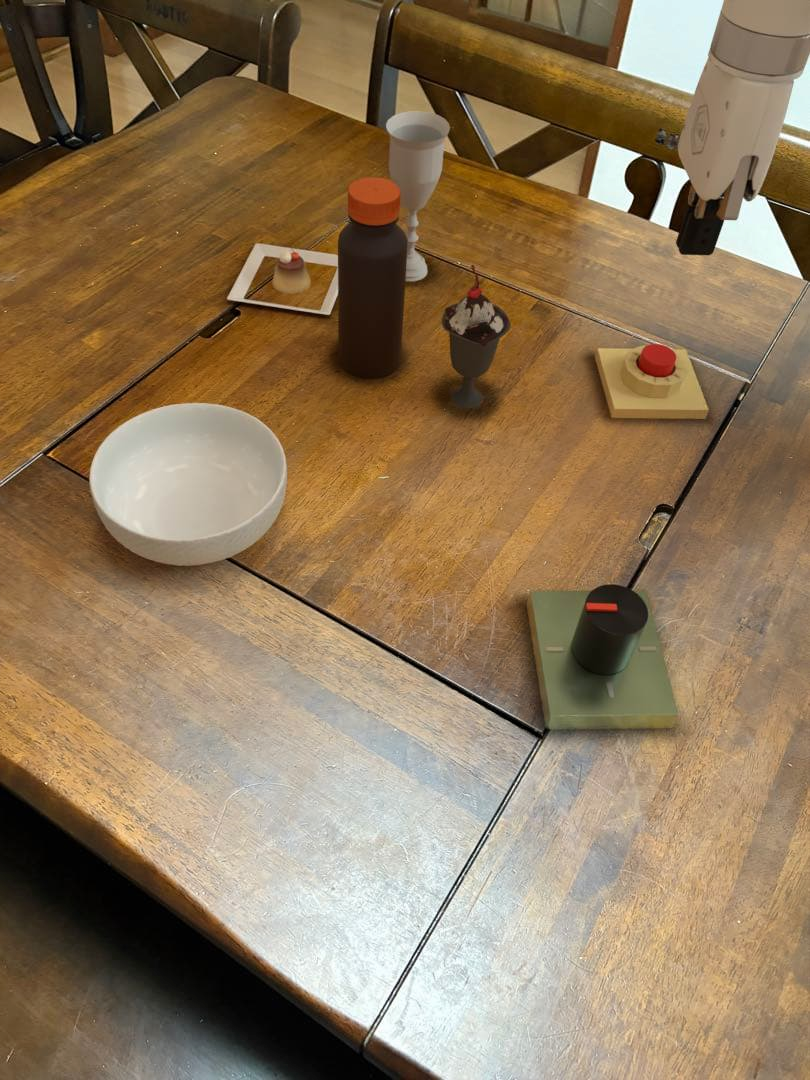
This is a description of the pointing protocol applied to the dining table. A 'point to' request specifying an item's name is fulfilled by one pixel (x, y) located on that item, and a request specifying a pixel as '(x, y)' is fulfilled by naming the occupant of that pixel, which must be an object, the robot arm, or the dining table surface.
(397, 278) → the bottle
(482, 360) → the sundae
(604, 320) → the dining table surface
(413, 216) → the chalice
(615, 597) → the hob knob
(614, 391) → the switch
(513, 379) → the dining table surface
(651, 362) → the button
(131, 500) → the cereal bowl
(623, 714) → the panel
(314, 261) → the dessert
